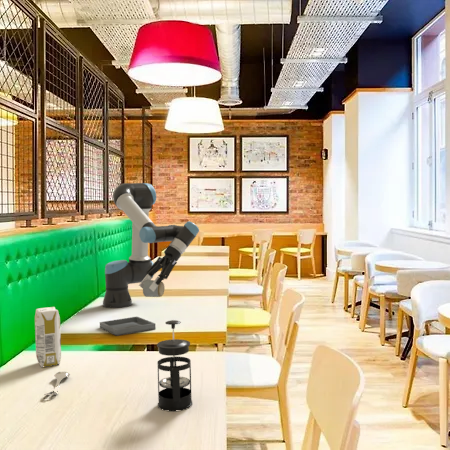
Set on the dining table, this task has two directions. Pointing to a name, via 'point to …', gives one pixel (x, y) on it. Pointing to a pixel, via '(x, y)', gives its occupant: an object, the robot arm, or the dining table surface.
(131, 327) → the tray
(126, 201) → the robot arm
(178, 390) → the french press
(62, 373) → the grey elongated piece
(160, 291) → the ceramic mug
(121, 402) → the dining table surface
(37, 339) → the juice carton
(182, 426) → the dining table surface
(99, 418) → the dining table surface
